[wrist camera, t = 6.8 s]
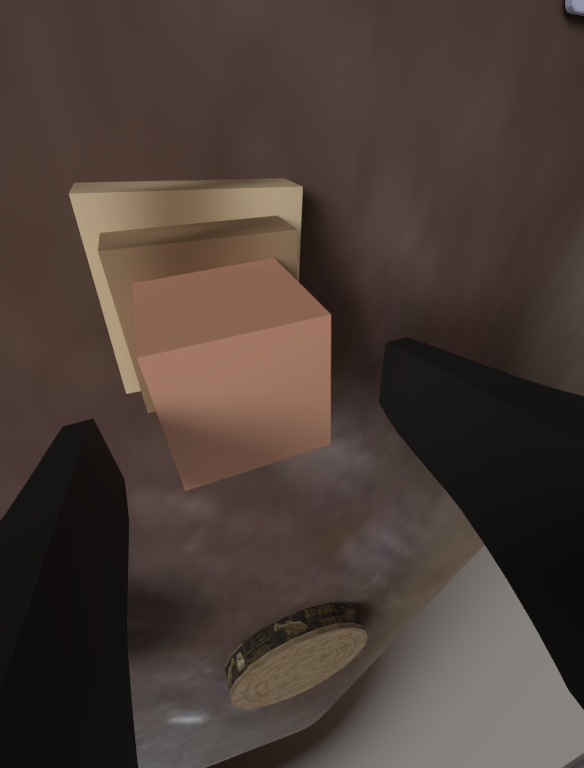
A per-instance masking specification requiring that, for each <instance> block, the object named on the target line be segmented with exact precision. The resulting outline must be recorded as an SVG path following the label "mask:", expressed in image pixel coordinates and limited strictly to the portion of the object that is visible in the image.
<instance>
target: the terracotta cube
mask: <svg viewBox="0 0 584 768" xmlns="http://www.w3.org/2000/svg"><path fill="white" fill-rule="evenodd" d="M132 286H133V303H134V319H135V336H136V353H137V360H138V363H139V366H140V368H141V371H142V374H143V377H144V379H145V382H146V385H147V387H148V390H149V393H150V396H151V398H152V401H153V404H154V407H155V409H156V412H157V415H158V418H159V420H160V423H161V426H162V429H163V431H164V434H165V437H166V439H167V442H168V445H169V448H170V450H171V453H172V456H173V459H174V461H175V464H176V467H177V470H178V472H179V475H180V478H181V481H182V483H183V486H184V489H185V491H186V490H190V489H193V488H196V487H199V486H202V485H205V484H209V483H212V482H215V481H218V480H221V479H224V478H228V477H231V476H234V475H237V474H240V473H243V472H247V471H250V470H253V469H256V468H259V467H262V466H266V465H269V464H272V463H275V462H278V461H282V460H285V459H288V458H291V457H294V456H297V455H301V454H304V453H307V452H310V451H313V450H316V449H320V448H323V447H326V446H329V445H330V431H331V314H330V313H329V312H328V311H327V310H326V309H325V308H324V307H323V306H322V305H321V304H320V303H319V302H318V301H317V300H316V299H315V298H314V297H313V296H312V295H311V294H310V293H309V292H308V291H307V290H306V289H305V288H304V287H303V286H302V285H301V284H300V283H299V282H298V281H297V280H296V279H295V278H294V277H293V276H292V275H291V274H290V273H289V272H288V271H287V270H286V269H285V268H284V267H283V266H282V265H281V264H280V263H279V262H278V261H277V260H276V259H275V258H271V259H265V260H260V261H254V262H248V263H243V264H237V265H232V266H226V267H221V268H215V269H209V270H204V271H198V272H193V273H188V274H182V275H177V276H171V277H166V278H160V279H155V280H149V281H144V282H139V283H133V284H132Z"/></svg>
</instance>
